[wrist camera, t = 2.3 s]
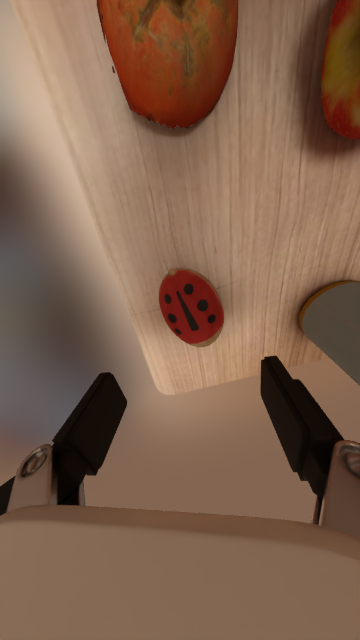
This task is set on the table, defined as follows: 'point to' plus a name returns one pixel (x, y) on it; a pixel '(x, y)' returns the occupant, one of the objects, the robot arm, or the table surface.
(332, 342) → the bottle
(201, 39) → the tomato
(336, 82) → the apple
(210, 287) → the ladybug figurine
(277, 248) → the table surface
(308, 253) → the table surface
